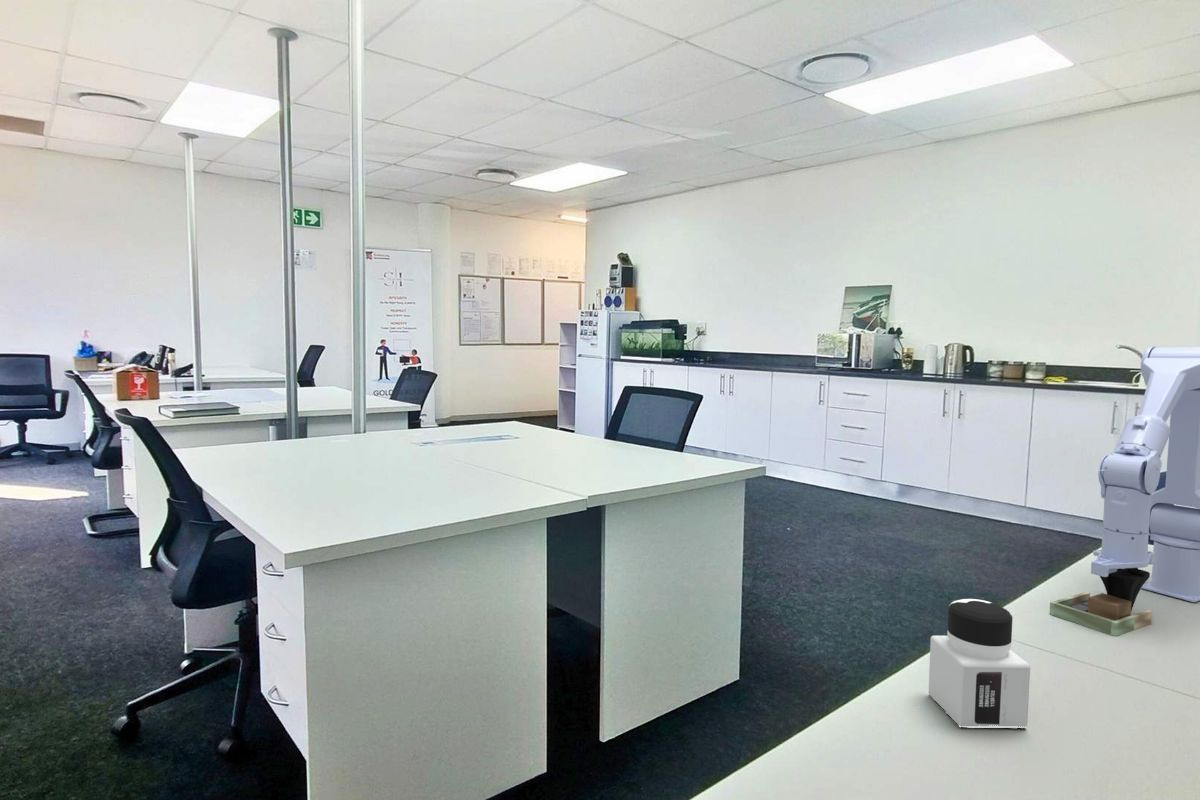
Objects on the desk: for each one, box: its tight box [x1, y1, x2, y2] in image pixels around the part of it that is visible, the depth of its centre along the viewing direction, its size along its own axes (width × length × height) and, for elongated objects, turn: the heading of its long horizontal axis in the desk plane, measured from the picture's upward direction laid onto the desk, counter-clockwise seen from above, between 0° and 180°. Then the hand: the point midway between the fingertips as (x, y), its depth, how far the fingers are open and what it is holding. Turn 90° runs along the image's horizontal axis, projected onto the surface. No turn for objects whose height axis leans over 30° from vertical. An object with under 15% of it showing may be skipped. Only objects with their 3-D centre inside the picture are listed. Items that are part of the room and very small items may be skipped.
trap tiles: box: [1071, 602, 1088, 612], centre depth 110 cm, size 6×2×1 cm, turn 117°
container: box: [928, 598, 1031, 727], centre depth 78 cm, size 8×8×13 cm
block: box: [1088, 592, 1132, 621], centre depth 104 cm, size 4×4×4 cm
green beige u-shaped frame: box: [1049, 591, 1153, 637], centre depth 106 cm, size 10×9×2 cm
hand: (1120, 613), depth 106 cm, fingers closed
